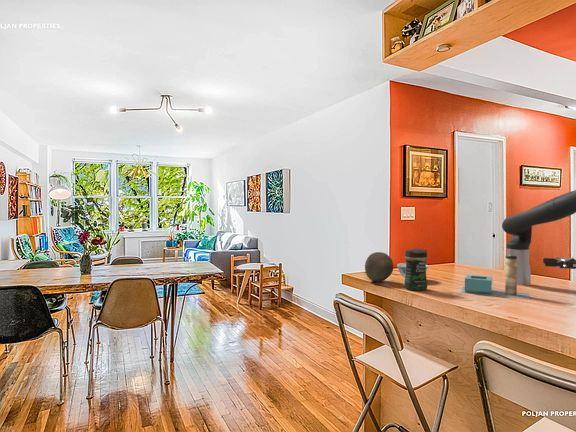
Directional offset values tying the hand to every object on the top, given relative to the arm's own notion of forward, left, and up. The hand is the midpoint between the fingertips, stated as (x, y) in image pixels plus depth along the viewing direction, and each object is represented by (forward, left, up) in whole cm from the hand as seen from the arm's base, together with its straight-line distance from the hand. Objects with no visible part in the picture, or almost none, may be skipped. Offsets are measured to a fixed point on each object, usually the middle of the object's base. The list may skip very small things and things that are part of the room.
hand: (544, 262), depth 148 cm
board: (+12, -12, -15) cm, 23 cm away
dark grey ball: (+45, -52, -15) cm, 71 cm away
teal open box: (+16, -17, -15) cm, 28 cm away
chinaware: (+26, -52, -15) cm, 60 cm away
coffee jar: (+37, -32, -15) cm, 51 cm away
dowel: (+8, -8, -14) cm, 18 cm away
